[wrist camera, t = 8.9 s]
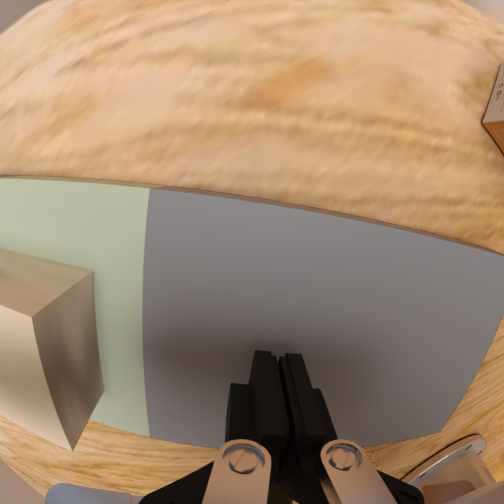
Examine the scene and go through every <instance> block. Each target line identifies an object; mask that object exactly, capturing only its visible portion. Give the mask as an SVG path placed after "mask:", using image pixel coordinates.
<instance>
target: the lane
mask: <svg viewBox="0 0 504 504" xmlns="http://www.w3.org/2000/svg"><path fill="white" fill-rule="evenodd" d="M0 248H2V249H6V250H10V251H14V252H18V253H22V254H26V255H30V256H34V257H38V258H42V259H46V260H50V261H55V262H59V263H63V264H68V265H72V266H77V267H81V268H86V269H91V270H94V293H95V314H96V327H97V338H98V348H99V357H100V364H101V372H102V378H103V384H104V390H105V391H104V393H103V394H102V396H101V398H100V400H99V402H98V404H97V405H96V407H95V409H94V411H93V413H92V415H91V417H90V418H89V420H90V421H93V422H96V423H100V424H103V425H106V426H109V427H113V428H116V429H119V430H123V431H127V432H131V433H134V434H138V435H142V436H147V437H151V438H156V439H160V440H165V441H170V442H176V443H182V444H188V445H194V446H201V447H209V448H217V449H219V448H220V447H221V446H222V445H223V444H225V428H226V412H227V403H228V396H229V389H230V384H231V383H239V384H248V382H249V377H250V372H251V367H252V361H253V356H254V352H255V350H262V351H270V352H271V355H273V356H276V358H277V363H278V360H279V357H280V356H285V353H298V354H302V357H303V360H304V363H305V366H306V369H307V372H308V375H309V378H310V382H311V385H312V388H319V389H320V390H321V391H322V394H323V397H324V400H325V402H326V405H327V408H328V411H329V414H330V417H331V420H332V423H333V425H334V428H335V431H336V434H337V437H338V440H341V439H343V440H349V441H352V442H354V443H356V444H358V445H359V446H361V447H369V446H376V445H382V444H388V443H394V442H399V441H404V440H409V439H413V438H418V437H422V436H426V435H430V434H434V433H438V432H441V430H442V429H443V427H444V426H445V425H446V423H447V422H448V420H449V419H450V417H451V416H452V414H453V413H454V411H455V410H456V408H457V406H458V405H459V403H460V402H461V400H462V398H463V397H464V395H465V393H466V392H467V390H468V388H469V386H470V385H471V383H472V381H473V379H474V378H475V376H476V374H477V372H478V370H479V368H480V366H481V364H482V362H483V360H484V358H485V356H486V354H487V352H488V350H489V348H490V346H491V343H492V341H493V339H494V337H495V334H496V332H497V329H498V327H499V325H500V322H501V320H502V317H503V314H504V254H502V253H499V252H497V251H494V250H491V249H488V248H485V247H481V246H478V245H474V244H471V243H467V242H463V241H460V240H456V239H452V238H448V237H445V236H441V235H437V234H433V233H429V232H425V231H421V230H417V229H412V228H408V227H404V226H400V225H395V224H391V223H387V222H382V221H378V220H373V219H368V218H364V217H359V216H354V215H349V214H344V213H339V212H334V211H329V210H324V209H318V208H313V207H307V206H302V205H296V204H291V203H285V202H279V201H273V200H267V199H260V198H254V197H248V196H241V195H234V194H227V193H220V192H213V191H205V190H198V189H190V188H181V187H173V186H164V185H155V184H145V183H135V182H124V181H112V180H100V179H86V178H70V177H50V176H22V175H0Z"/></svg>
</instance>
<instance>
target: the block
mask: <svg viewBox="0 0 504 504" xmlns="http://www.w3.org/2000/svg"><path fill="white" fill-rule="evenodd" d="M104 391H105V390H104V384H103V378H102V372H101V364H100V357H99V348H98V338H97V327H96V314H95V293H94V270H91V269H86V268H81V267H77V266H72V265H68V264H63V263H59V262H55V261H50V260H46V259H42V258H38V257H34V256H30V255H26V254H22V253H18V252H14V251H10V250H6V249H2V248H0V415H2V416H4V417H5V418H7V419H9V420H10V421H12V422H14V423H15V424H17V425H19V426H21V427H22V428H24V429H26V430H28V431H30V432H32V433H34V434H36V435H38V436H40V437H42V438H44V439H46V440H48V441H50V442H52V443H54V444H56V445H59V446H61V447H63V448H66V449H68V450H70V451H73V450H74V448H75V446H76V444H77V442H78V440H79V438H80V436H81V434H82V432H83V430H84V428H85V426H86V424H87V422H88V420H89V418H90V417H91V415H92V413H93V411H94V409H95V407H96V405H97V404H98V402H99V400H100V398H101V396H102V394H103V393H104Z"/></svg>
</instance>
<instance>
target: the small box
mask: <svg viewBox="0 0 504 504" xmlns="http://www.w3.org/2000/svg"><path fill="white" fill-rule="evenodd" d="M483 125H484V127H485V128H486V129H487V130H488V132H489V133H490V134H491V135H492V137H493V138H494V140H495V141H496V142H497V144H498V145H499V147H500V148H501V150H502V151H503V153H504V64H501V66H500V69H499V73H498V76H497V79H496V83H495V86H494V90H493V93H492V96H491V99H490V102H489V105H488V108H487V111H486V114H485V116H484V119H483Z"/></svg>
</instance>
